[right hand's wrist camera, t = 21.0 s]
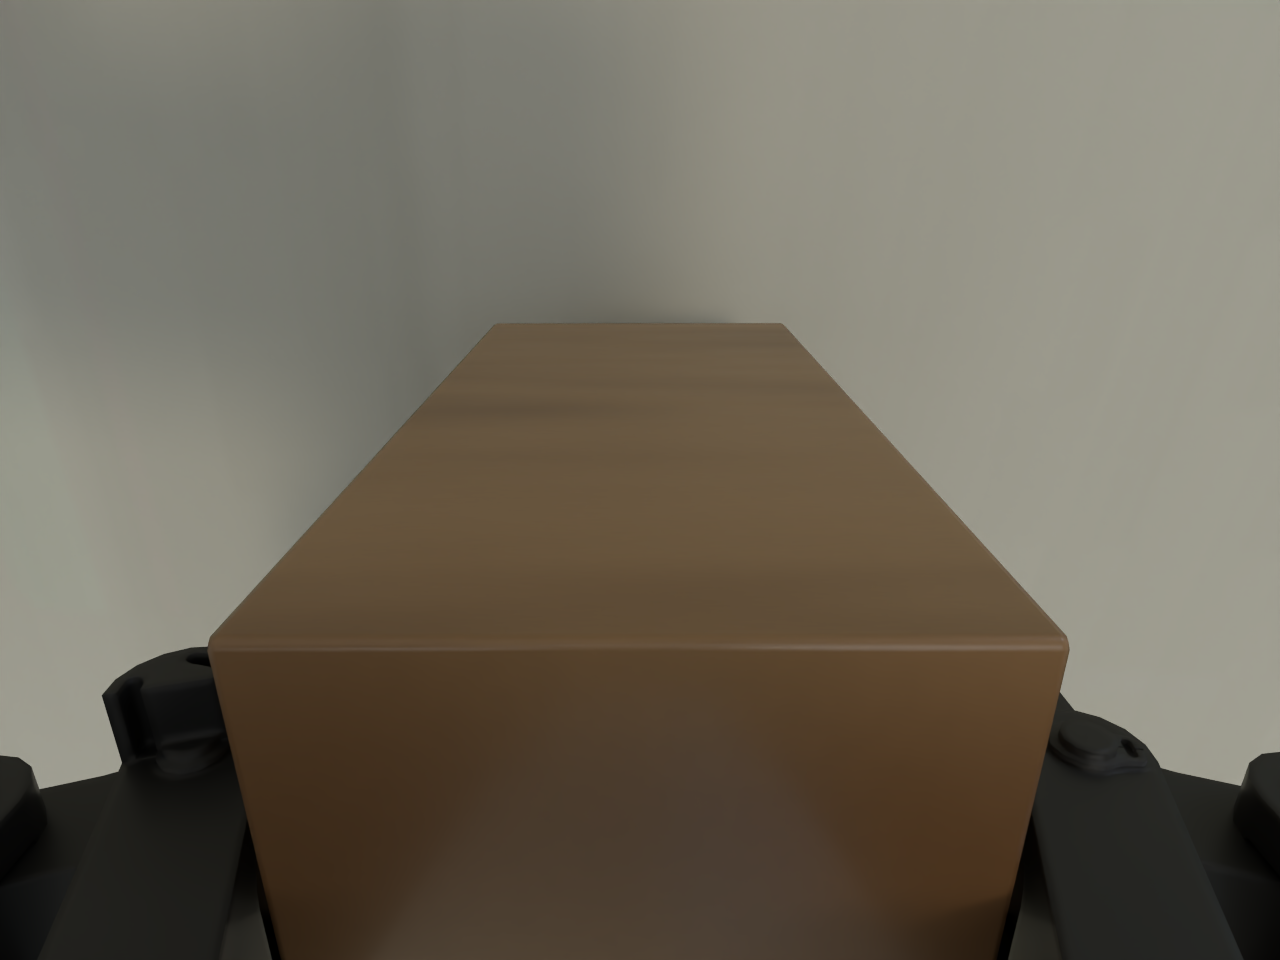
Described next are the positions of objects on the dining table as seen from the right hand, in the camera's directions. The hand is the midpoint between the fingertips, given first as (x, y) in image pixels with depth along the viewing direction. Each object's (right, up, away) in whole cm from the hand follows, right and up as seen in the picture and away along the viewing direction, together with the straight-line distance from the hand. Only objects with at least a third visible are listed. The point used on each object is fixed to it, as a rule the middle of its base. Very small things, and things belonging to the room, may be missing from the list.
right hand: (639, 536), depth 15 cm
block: (0, +1, +3) cm, 3 cm away
